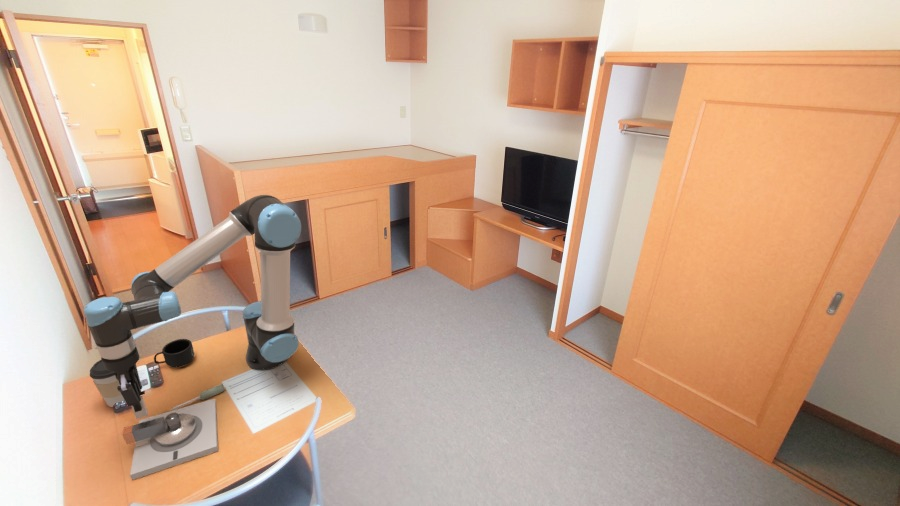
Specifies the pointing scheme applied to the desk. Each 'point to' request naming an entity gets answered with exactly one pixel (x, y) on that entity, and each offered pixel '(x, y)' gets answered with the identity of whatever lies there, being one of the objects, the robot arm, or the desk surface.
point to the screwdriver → (205, 395)
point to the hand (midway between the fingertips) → (142, 415)
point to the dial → (162, 430)
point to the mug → (177, 353)
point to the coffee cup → (106, 383)
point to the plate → (199, 444)
